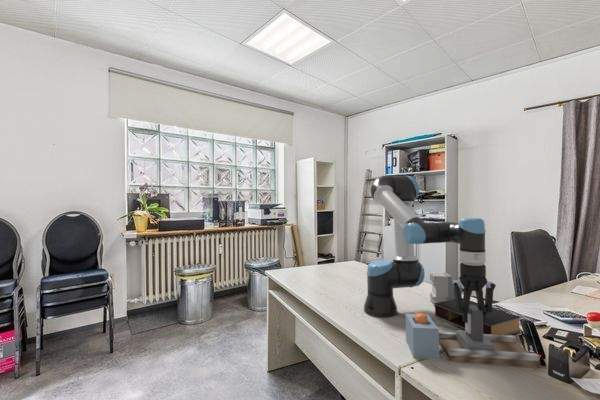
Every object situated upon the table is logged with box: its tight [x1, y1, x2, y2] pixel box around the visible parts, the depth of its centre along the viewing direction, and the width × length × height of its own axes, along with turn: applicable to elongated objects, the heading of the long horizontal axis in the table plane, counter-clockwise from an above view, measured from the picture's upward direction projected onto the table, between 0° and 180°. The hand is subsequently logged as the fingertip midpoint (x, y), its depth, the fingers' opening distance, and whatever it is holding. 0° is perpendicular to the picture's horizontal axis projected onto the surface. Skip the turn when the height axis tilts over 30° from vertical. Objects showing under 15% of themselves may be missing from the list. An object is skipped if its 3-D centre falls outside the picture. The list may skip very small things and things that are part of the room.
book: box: [434, 297, 521, 336], centre depth 120 cm, size 17×25×7 cm
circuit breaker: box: [429, 271, 464, 307], centre depth 143 cm, size 8×14×15 cm, turn 78°
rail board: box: [439, 331, 541, 369], centre depth 97 cm, size 26×14×4 cm, turn 81°
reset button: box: [414, 312, 428, 324], centre depth 100 cm, size 4×4×4 cm
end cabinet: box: [405, 313, 440, 360], centre depth 100 cm, size 8×12×10 cm, turn 171°
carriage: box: [455, 305, 494, 351], centre depth 98 cm, size 8×10×13 cm
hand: (474, 332), depth 98 cm, fingers closed on carriage, 3 cm apart
